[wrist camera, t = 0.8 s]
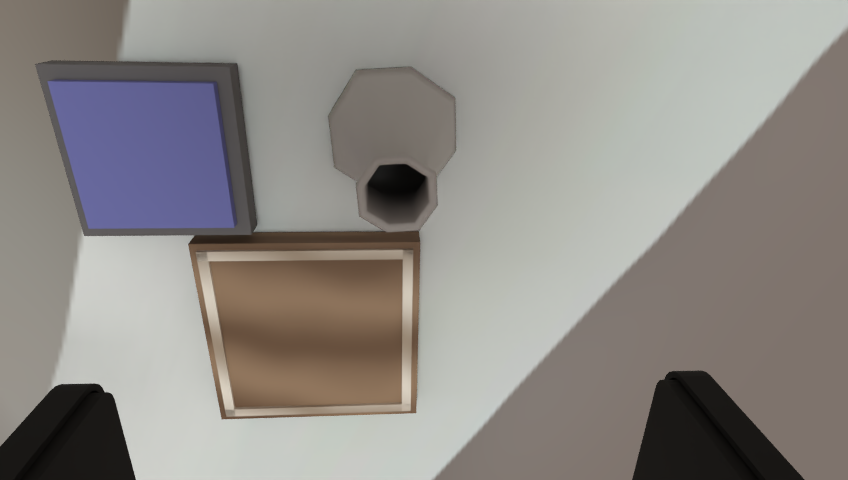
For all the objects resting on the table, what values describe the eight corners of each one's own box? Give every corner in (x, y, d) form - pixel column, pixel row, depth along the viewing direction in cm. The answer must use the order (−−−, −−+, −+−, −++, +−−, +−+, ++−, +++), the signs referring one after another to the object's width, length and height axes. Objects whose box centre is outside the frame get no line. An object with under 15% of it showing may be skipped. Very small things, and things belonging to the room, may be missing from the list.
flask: (437, 206, 31) (459, 294, 22) (315, 176, 29) (285, 257, 20) (475, 85, 28) (519, 128, 19) (342, 46, 26) (321, 72, 17)
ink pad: (52, 60, 26) (27, 65, 24) (236, 63, 26) (225, 68, 25) (97, 225, 30) (78, 240, 28) (257, 224, 30) (248, 239, 28)
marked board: (197, 232, 30) (187, 245, 29) (418, 231, 31) (420, 243, 30) (228, 403, 36) (221, 421, 34) (415, 397, 37) (416, 415, 35)
